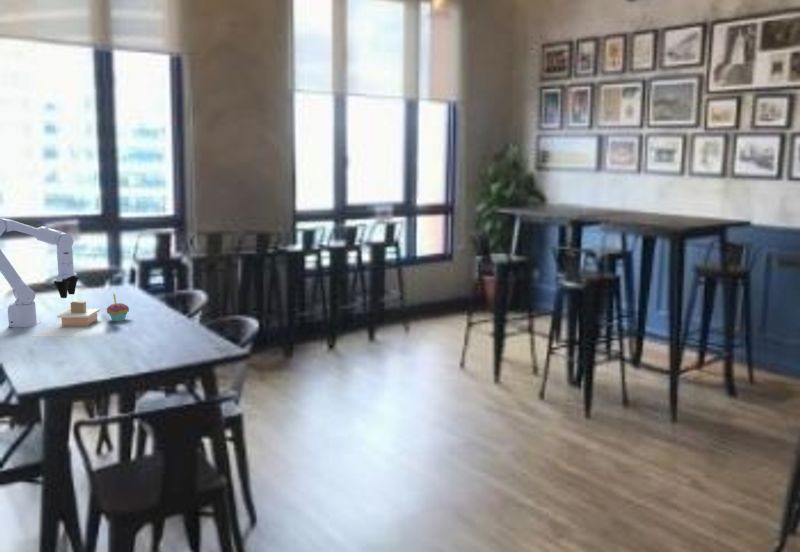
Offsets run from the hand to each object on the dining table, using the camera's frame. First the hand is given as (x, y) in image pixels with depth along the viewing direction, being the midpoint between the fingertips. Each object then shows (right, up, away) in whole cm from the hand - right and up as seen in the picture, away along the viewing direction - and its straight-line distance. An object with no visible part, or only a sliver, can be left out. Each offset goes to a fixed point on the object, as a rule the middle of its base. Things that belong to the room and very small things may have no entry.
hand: (67, 296), depth 303 cm
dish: (+7, -11, -5) cm, 14 cm away
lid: (+7, -7, -6) cm, 11 cm away
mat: (+6, -13, -20) cm, 25 cm away
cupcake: (+20, -10, +1) cm, 22 cm away
